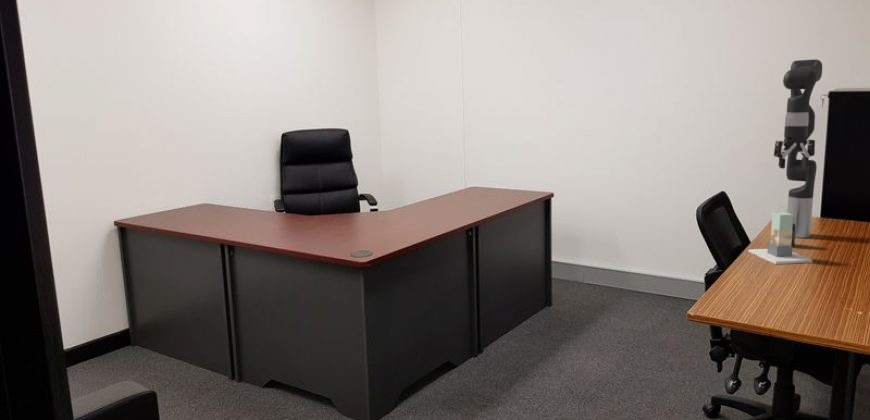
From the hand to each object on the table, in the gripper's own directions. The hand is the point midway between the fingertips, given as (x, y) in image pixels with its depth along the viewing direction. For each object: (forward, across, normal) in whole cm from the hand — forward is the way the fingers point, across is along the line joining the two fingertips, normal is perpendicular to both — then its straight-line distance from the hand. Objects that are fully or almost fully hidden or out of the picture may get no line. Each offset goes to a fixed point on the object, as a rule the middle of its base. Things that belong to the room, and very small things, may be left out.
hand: (793, 167), depth 233 cm
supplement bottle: (+34, -9, -15) cm, 39 cm away
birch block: (+29, +4, +2) cm, 29 cm away
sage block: (+23, +4, +2) cm, 24 cm away
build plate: (+34, +4, +2) cm, 34 cm away
